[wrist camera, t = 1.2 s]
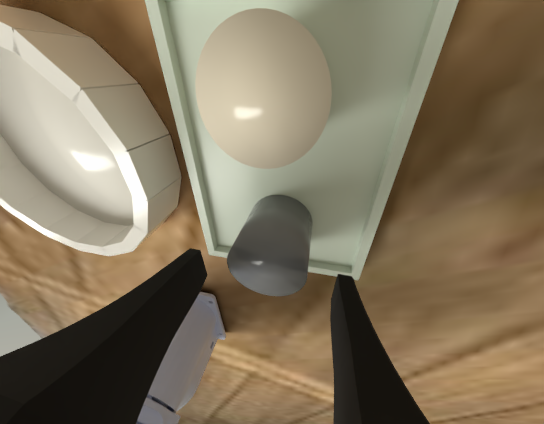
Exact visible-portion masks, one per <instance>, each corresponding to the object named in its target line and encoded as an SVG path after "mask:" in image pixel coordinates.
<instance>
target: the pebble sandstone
mask: <svg viewBox="0 0 544 424" xmlns="http://www.w3.org/2000/svg"><path fill="white" fill-rule="evenodd" d="M195 87H196V98H197V104H198V108H199V112H200V115H201V118H202V121H203V123H204V125H205V127H206V129H207V131H208V132H209V134H210V136H211V137H212V138H213V140H214V141H215V142H216V144H217V145H218V146H219V147H220V148H221V149H222V150H223V151H224V152H225V153H226V154H228V155H229V156H230V157H232V158H233V159H235V160H237V161H239V162H240V163H243V164H245V165H248V166H251V167H255V168H262V169H271V168H279V167H283V166H286V165H288V164H291V163H293V162H295V161H297V160H298V159H300V158H301V157H302V156H304V155H305V154H306V153H307V152H308V151H309V150H310V149H311V148H312V147H313V146H314V145H315V143H316V142H317V141H318V139H319V137H320V136H321V134H322V132H323V130H324V128H325V126H326V123H327V120H328V116H329V112H330V107H331V97H332V89H331V78H330V72H329V68H328V64H327V61H326V59H325V56H324V54H323V52H322V50H321V48H320V46H319V44H318V43H317V41H316V40H315V38H314V37H313V36H312V34H311V33H310V32H309V31H308V30H307V29H306V28H305V27H304V26H303V25H302V24H301V23H300V22H298V21H297V20H295V19H294V18H292V17H291V16H289V15H287V14H285V13H282V12H280V11H277V10H272V9H268V8H254V9H248V10H244V11H241V12H238V13H236V14H234V15H232V16H230V17H229V18H227V19H226V20H224V21H223V22H222V23H221V24H220V25H218V27H217V28H216V29H215V30H214V31H213V32H212V33H211V35H210V37H209V38H208V40H207V41H206V43H205V45H204V47H203V49H202V51H201V54H200V58H199V61H198V65H197V70H196V80H195Z"/></svg>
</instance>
